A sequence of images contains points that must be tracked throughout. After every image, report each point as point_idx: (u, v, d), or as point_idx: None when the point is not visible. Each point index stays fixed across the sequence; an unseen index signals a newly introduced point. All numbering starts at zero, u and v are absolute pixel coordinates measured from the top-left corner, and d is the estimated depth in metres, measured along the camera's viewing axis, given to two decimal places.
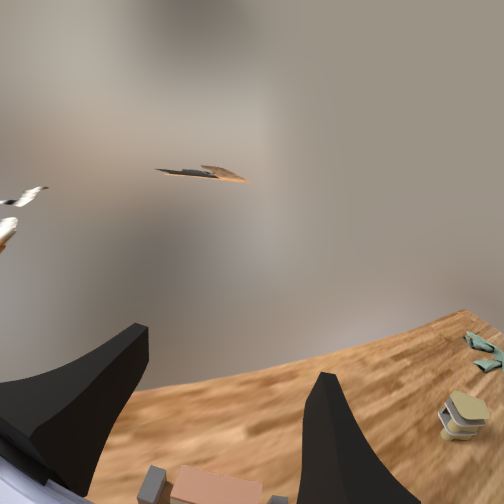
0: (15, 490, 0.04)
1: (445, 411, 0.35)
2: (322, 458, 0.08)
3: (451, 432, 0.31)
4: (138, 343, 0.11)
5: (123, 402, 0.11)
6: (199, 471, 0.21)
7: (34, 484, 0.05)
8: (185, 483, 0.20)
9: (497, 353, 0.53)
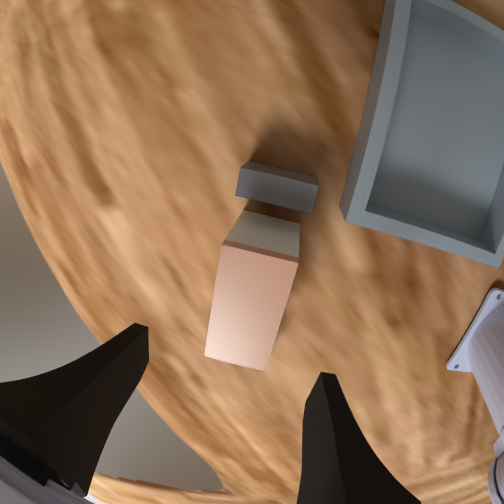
0: (15, 490, 0.04)
1: None
2: (322, 458, 0.08)
3: None
4: (138, 343, 0.11)
5: (123, 402, 0.11)
6: (212, 336, 0.16)
7: (34, 484, 0.05)
8: (238, 354, 0.17)
9: None
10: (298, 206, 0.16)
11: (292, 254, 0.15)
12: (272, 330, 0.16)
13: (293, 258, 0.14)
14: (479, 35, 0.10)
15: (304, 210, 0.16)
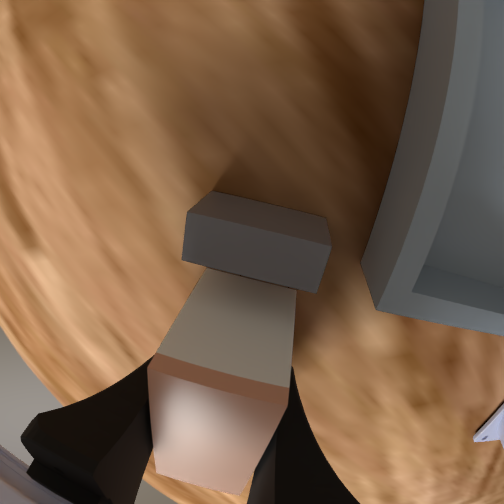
0: (15, 490, 0.04)
1: None
2: (267, 450, 0.08)
3: None
4: None
5: None
6: (161, 460, 0.09)
7: (34, 484, 0.05)
8: (201, 480, 0.10)
9: None
10: (293, 281, 0.09)
11: (278, 380, 0.08)
12: (246, 468, 0.09)
13: (278, 392, 0.07)
14: None
15: (304, 288, 0.09)
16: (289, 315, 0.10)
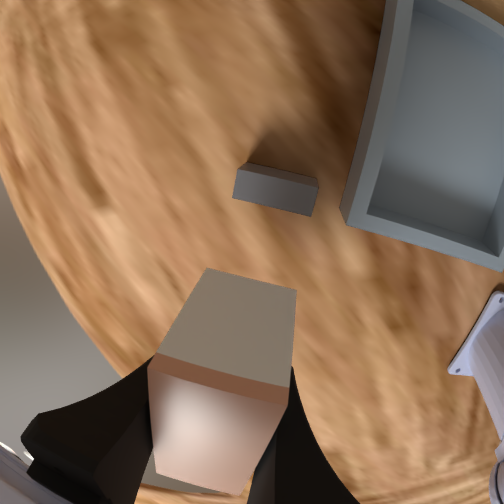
0: (15, 490, 0.04)
1: None
2: (267, 450, 0.08)
3: None
4: None
5: None
6: (161, 460, 0.09)
7: (34, 484, 0.05)
8: (201, 479, 0.10)
9: None
10: (297, 209, 0.15)
11: (277, 380, 0.08)
12: (246, 467, 0.09)
13: (278, 392, 0.07)
14: (483, 33, 0.10)
15: (303, 213, 0.15)
16: (289, 315, 0.10)
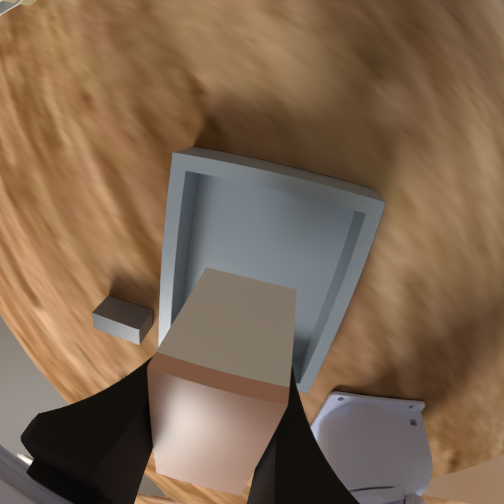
0: (15, 490, 0.04)
1: None
2: (267, 450, 0.08)
3: None
4: None
5: None
6: (160, 460, 0.09)
7: (34, 484, 0.05)
8: (201, 479, 0.10)
9: None
10: (130, 339, 0.21)
11: (278, 380, 0.08)
12: (246, 467, 0.09)
13: (278, 391, 0.07)
14: None
15: (134, 342, 0.21)
16: (289, 314, 0.10)
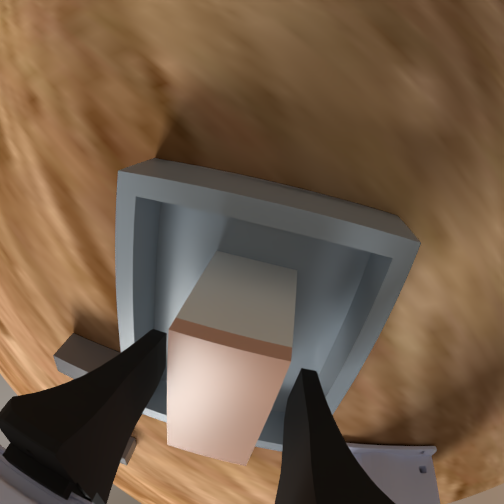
0: (15, 490, 0.04)
1: None
2: (298, 455, 0.08)
3: None
4: (157, 350, 0.11)
5: (141, 409, 0.11)
6: (173, 429, 0.11)
7: (34, 484, 0.05)
8: (210, 449, 0.11)
9: None
10: None
11: (282, 341, 0.09)
12: (253, 432, 0.10)
13: (283, 350, 0.09)
14: None
15: None
16: (291, 290, 0.12)
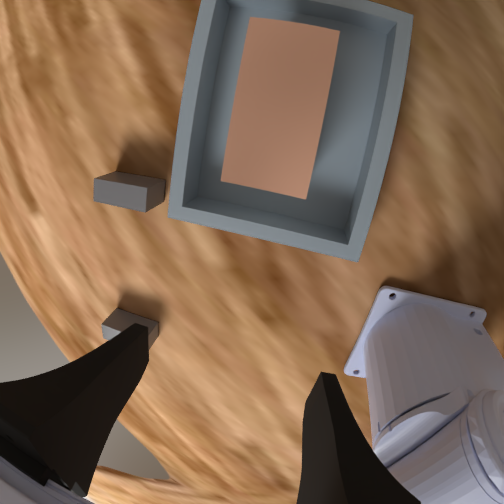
0: (15, 490, 0.04)
1: None
2: (322, 458, 0.08)
3: None
4: (138, 343, 0.11)
5: (123, 402, 0.11)
6: (232, 143, 0.12)
7: (34, 484, 0.05)
8: (269, 169, 0.12)
9: None
10: (135, 206, 0.18)
11: None
12: (315, 123, 0.11)
13: (332, 32, 0.10)
14: (310, 7, 0.12)
15: (139, 209, 0.18)
16: None
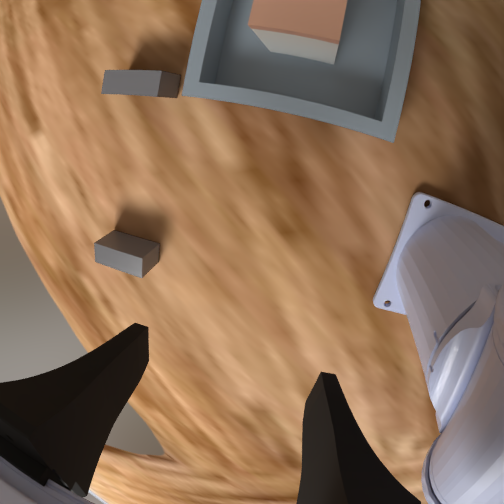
0: (15, 490, 0.04)
1: None
2: (322, 458, 0.08)
3: None
4: (138, 343, 0.11)
5: (123, 402, 0.11)
6: None
7: (34, 484, 0.05)
8: (300, 13, 0.09)
9: None
10: (146, 92, 0.15)
11: None
12: None
13: None
14: None
15: (151, 94, 0.15)
16: None
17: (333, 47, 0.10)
